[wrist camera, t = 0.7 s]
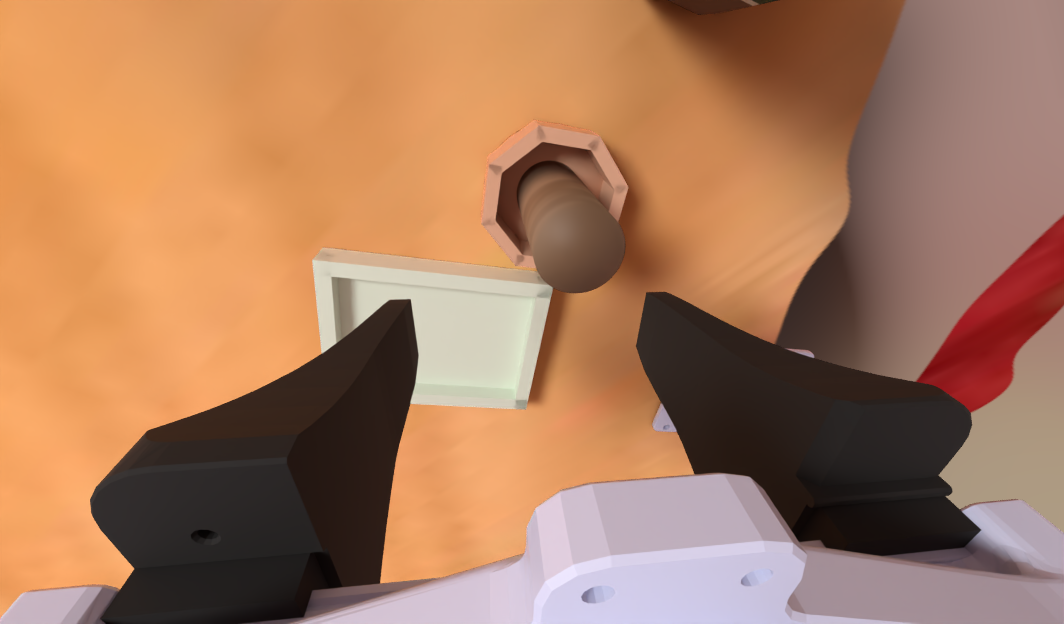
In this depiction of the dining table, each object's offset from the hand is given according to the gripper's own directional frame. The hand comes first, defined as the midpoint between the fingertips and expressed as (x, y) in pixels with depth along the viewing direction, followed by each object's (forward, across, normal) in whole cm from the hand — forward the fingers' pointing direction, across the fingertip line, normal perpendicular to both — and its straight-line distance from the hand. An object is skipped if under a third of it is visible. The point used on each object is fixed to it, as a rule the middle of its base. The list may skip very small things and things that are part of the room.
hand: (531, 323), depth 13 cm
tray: (+10, +4, +7) cm, 13 cm away
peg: (+10, -2, -1) cm, 10 cm away
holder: (+10, -2, -1) cm, 11 cm away
